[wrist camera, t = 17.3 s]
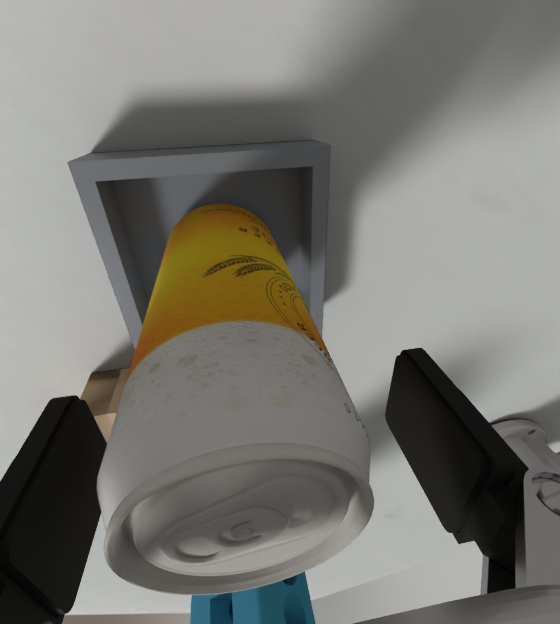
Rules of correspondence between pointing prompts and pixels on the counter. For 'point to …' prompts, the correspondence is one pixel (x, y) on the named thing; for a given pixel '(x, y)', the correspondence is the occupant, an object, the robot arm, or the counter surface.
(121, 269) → the tray
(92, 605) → the counter surface
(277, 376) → the beer can
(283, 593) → the block
